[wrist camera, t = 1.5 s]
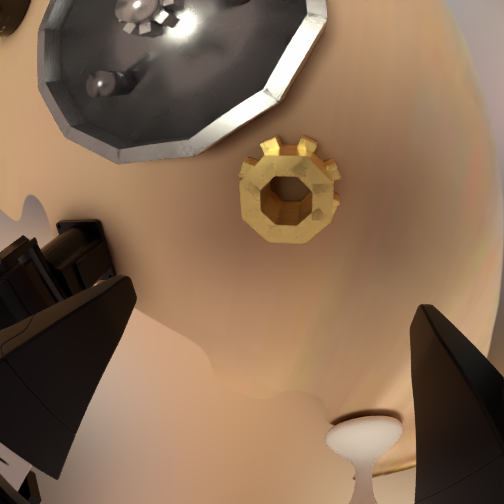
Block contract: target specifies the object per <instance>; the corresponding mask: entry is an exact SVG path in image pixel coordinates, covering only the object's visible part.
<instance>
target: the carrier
mask: <svg viewBox="0 0 504 504" xmlns="http://www.w3.org/2000/svg"><path fill="white" fill-rule="evenodd" d="M326 22H327V9H326V0H50V3H49V5H48V7H47V10H46V12H45V14H44V17H43V19H42V22H41V25H40V27H39V30H40V31H38V45H37V70H38V89H39V92H40V93H41V95H42V97H43V99H44V101H45V103H46V105H47V107H48V108H49V110H50V112H51V114H52V116H53V117H54V119H55V121H56V123H57V124H58V126H59V128H60V130H61V131H62V133H63V135H64V136H65V137H66V138H67V139H69V140H71V141H73V142H75V143H77V144H79V145H81V146H83V147H85V148H87V149H89V150H91V151H93V152H95V153H97V154H99V155H100V156H102V157H104V158H106V159H108V160H110V161H112V162H114V163H116V164H126V163H134V162H141V161H150V160H159V159H168V158H179V157H191V156H195V155H198V154H200V153H202V152H204V151H206V150H208V149H209V148H210V147H212V146H213V145H215V144H216V143H218V142H219V141H221V140H222V139H224V138H225V137H227V136H228V135H230V134H231V133H233V132H234V131H236V130H238V129H240V128H241V127H243V126H245V125H247V124H248V123H250V122H251V121H252V120H254V119H255V118H257V117H258V116H259V115H261V114H263V113H264V112H266V111H268V110H269V109H271V108H273V107H274V106H276V105H278V104H280V103H281V102H280V101H283V99H284V98H285V96H286V94H287V92H288V90H289V89H290V87H291V85H292V84H293V82H294V81H295V79H296V78H297V76H298V75H299V73H300V72H301V70H302V69H303V68H304V66H305V64H306V62H307V60H308V58H309V56H310V54H311V52H312V50H313V48H314V46H315V44H316V43H317V41H318V39H319V38H320V36H321V35H322V33H323V31H324V30H325V27H326Z"/></svg>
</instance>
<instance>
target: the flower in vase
mask: <svg viewBox="0 0 504 504" xmlns="http://www.w3.org/2000/svg"><path fill="white" fill-rule="evenodd" d="M402 431H403V425H402V423H401V422H400V421H398V420H397V419H395V418H393V417H388V416H366V417H360V418H355V419H351V420H347V421H344V422H342V423H339V424H337V425H335V426H334V427H332V428H331V429H330V430H329V431H328V433H327V434H326V435H325V440H326V443H327V445H328V446H329V447H330V448H331V449H332V450H333V451H334V452H336V453H337V454H339V455H340V456H342V457H344V458H345V459H347V460H348V461H350V462H351V463H352V464H353V465H354V467H355V472H356V480H355V487H354V493H353V496H352V499H351V501H350V503H349V504H378V503H377V502H376V500H375V497H374V494H373V487H372V470H373V466H374V464H375V462H376V460H377V459H378V458H379V457H380V456H381V455H382V454H383V453H385V452H386V451H387V450H388V449H389V448H390V447H391V446H392V445H393V444H394V443H395V442H396V441H397V440H398V439H399V437H400V436H401V434H402Z"/></svg>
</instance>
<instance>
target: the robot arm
mask: <svg viewBox="0 0 504 504" xmlns="http://www.w3.org/2000/svg"><path fill="white" fill-rule="evenodd" d="M56 226H57V230H58V233H59V236H57V237H56V238H55V239H53V240H52V241H51V242H49V243H48V244H47V245H45V246H44V247H43V248H42V249H40V248H39V246H38V244H37V240H36V238H35V237H34V238H33V239H31V240H29V239H28V238H26V237H25V236H24V235H23V236H21V237H20V238H19V239H17V240H16V241H14V242H13V243H12V244H10V245H9V246H8V247H6V248H5V249H4V250H2V251H1V252H0V504H40V502H41V497H40V493H39V489H38V485H37V480H36V475H35V473H34V472H33V471H32V470H31V467H32V465H33V466H34V467H36V468H37V469H39V470H40V471H42V472H44V473H45V474H47V475H49V476H51V477H53V478H54V479H56V480H58V479H59V477H60V474H61V472H62V469H63V466H64V463H65V461H66V458H67V456H68V453H69V450H70V448H71V445H72V443H73V440H74V438H75V434H76V433H77V430H78V428H79V426H80V423H81V421H82V418H83V416H84V414H85V412H86V410H87V407H88V405H89V403H90V401H91V399H92V396H93V394H94V392H95V390H96V388H97V386H98V384H99V381H100V379H101V377H102V375H103V373H104V371H105V369H106V367H107V365H108V363H109V361H110V359H111V357H112V355H113V353H114V351H115V349H116V347H117V345H118V343H119V341H120V339H121V337H122V335H123V333H124V330H125V328H126V325H127V323H128V320H129V318H130V315H131V313H132V311H133V308H134V306H135V304H136V300H137V296H136V292H135V289H134V286H133V283H132V280H131V278H130V277H129V276H125V275H116V272H115V269H114V266H113V263H112V260H111V257H110V254H109V250H108V247H107V244H106V241H105V237H104V234H103V230H102V227H101V224H100V222H99V221H98V220H70V221H59V222H58V223H57V224H56ZM96 226H97V227H96ZM99 279H100V280H106V281H104V282H102V283H99V284H97V285H95V286H94V284H95V283H96V282H97V281H98V280H99ZM410 347H411V378H412V389H413V399H414V411H415V427H416V488H415V503H414V504H504V377H503V376H502V375H501V374H500V373H499V372H498V370H497V369H496V368H495V367H494V366H493V365H492V364H491V363H490V362H489V361H488V360H487V358H486V357H485V356H484V355H483V354H482V353H481V352H480V351H479V350H478V349H477V348H476V347H475V346H474V345H473V344H472V343H471V342H470V341H469V340H468V339H467V338H466V337H465V336H464V335H463V334H462V333H461V332H460V331H459V330H458V329H457V328H456V327H455V326H454V325H453V324H452V323H451V322H450V321H449V320H448V319H447V318H446V317H445V316H444V315H443V314H442V313H441V312H440V311H439V310H437V309H436V308H435V307H434V306H433V305H430V304H421V305H419V306H418V308H417V311H416V313H415V316H414V318H413V321H412V323H411V326H410Z"/></svg>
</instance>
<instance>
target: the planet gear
mask: <svg viewBox="0 0 504 504" xmlns="http://www.w3.org/2000/svg"><path fill="white" fill-rule="evenodd" d="M260 146H261V148H262V150H263V152H264V154H265V155H264V156H263V157H262V158H261V159H260V160H259V161H257V160H255V159H252V158H249V157H248V158H247V159H246V160H245V161H244V162H243V164H242V167H241V170H240V173H239V176H238V177H241V178H243V179H242V180H241V181H240V182H239V190H240V203H241V215H242V219H243V220H244V221H245V222H246V223H248V224H249V225H250V226H251V227H252V228H253V229H254V230H255V231H256V232H258V233H259V234H260V235H261V236H262V237H263V238H264V239H265V240H266V241H268V242H272V243H296V244H305V243H306V242H307V241H309V240H310V239H311V238H312V237H313V236H315V235H316V234H317V233H318V232H320V231H321V230H322V229H323V228H324V227H326V226H327V225H328V224H329V223H330V222H332V215H334V213H335V211H336V209H337V207H338V205H339V203H340V201H339V197H338V194H336V193H334V192H333V189H334V184H333V181H335V180H338V179H341V177H340V174H339V171H338V169H337V166H336V164H335V161H334V159H333V158H332V159H330V160H327V161H324V162H323V161H322V160H321V159H320V158H319V157H318V156H317V155H316V154H315V153H314V151H315V149H316V147H317V141H315V140H312V139H310V138H308V137H305V136H303V135H302V136H301V139H300V141H299V144H298V145H282V142H281V140H280V138H279V136H278V135H277V136H275V137H272V138H270V139H267V140H265V141H263V142H262V143H261V144H260ZM274 176H295V177H298V178H299V179H300V180H301V181H302V182H303V183H304V184H305V185H306V186H307V187H308V188H309V189H310V190H311V192H310V193H309V194H308V195H307V196H305V197H304V198H303V199H302V200H301V201H300V202H297V201H282V200H281V199H280V198H279V197H278V196H277V195H276V194H275V193H274V192H273V191H272V190H270V180H271V179H272V178H273V177H274Z"/></svg>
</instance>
